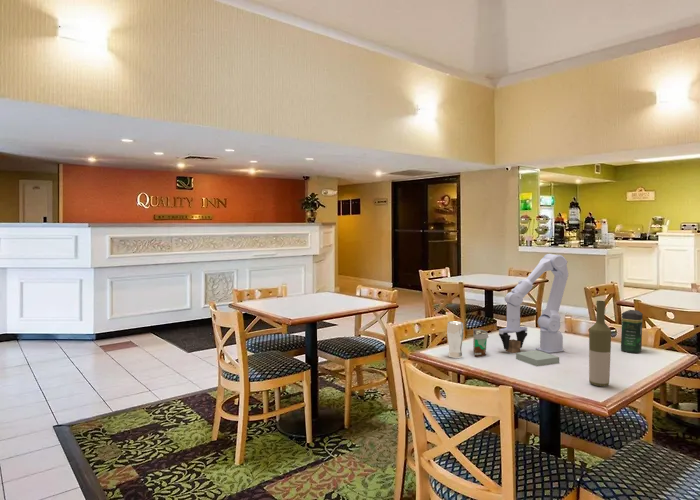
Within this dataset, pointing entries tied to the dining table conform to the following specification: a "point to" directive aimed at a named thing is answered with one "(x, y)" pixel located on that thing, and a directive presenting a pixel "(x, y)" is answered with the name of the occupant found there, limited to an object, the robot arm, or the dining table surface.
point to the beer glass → (455, 338)
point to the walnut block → (514, 346)
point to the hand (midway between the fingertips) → (512, 348)
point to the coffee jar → (631, 331)
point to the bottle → (599, 349)
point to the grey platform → (537, 358)
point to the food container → (479, 342)
